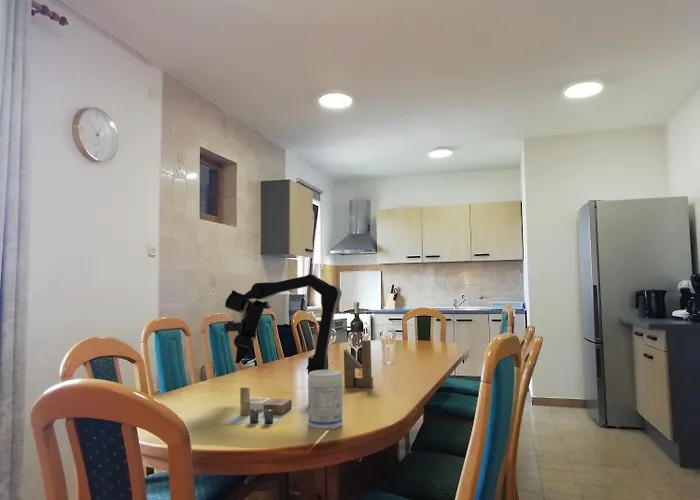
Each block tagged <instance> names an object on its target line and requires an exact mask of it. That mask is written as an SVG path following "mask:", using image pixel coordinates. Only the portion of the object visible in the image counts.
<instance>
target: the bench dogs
mask: <svg viewBox="0 0 700 500" xmlns="http://www.w3.org/2000/svg"><path fill="white" fill-rule="evenodd" d="M264 412H265V424H273V410H272V409H268V410H265V411H264ZM250 423H251V424H250V425H257V424H256V423H259V409H251V410H250Z"/></svg>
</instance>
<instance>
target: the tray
mask: <svg viewBox="0 0 700 500" xmlns="http://www.w3.org/2000/svg"><path fill="white" fill-rule="evenodd" d="M270 400H272V398H271V397H251V396H250V410H251V409H259V411H264V404H265V403H267V402H269V401H270Z"/></svg>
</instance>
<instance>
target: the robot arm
mask: <svg viewBox="0 0 700 500" xmlns="http://www.w3.org/2000/svg"><path fill="white" fill-rule="evenodd" d="M307 287H310V288H311V289H313V290H314V291H315V292H316V293H317V294H319V295H321V296H320V297H321V298H320V302H321V303H320V304H321V310H322V311H321V312H322V313H321V317H320V322H319V330H318V333H317V335H318V336H317V339H316V346H315V352H314V354H312V355H309V356H308V358H307V367H306V368H305V370H307V375H308V377H309V372H311V371H316V370H330V369H329V356H328V352H329V345H330V340H331V334H332V327H333V323H334V317H335V312H336V310H337V308H338V306H339V303H340V300H341V298H342V290H341V288H340V287H339V286H338V285H334V284H333V285H331V284H329V283H328V282H326V281H325V280H323V279H321V278H319V277H318V276H317V275H316V274H311V273H309V274H307V275H304V276H299V277H295V278H289V279H285V280H280V281H275V282H256V283H253V285H251V289H250V290H247V292H246V293H242V292H240V291H238V290H231V293H230V294H229V295H228V296H227V298H226V299H225V301H224V302H225V304H224V307H225V308H226V309H228V310H231V311H233V312H237V313H240V314H241V313H244V312H245V313H244V317H242V319H241V320H227V321H225V322H224V323H223V325H224V326H223V328H224V333H230V332H237V334H236V335H235V337H234V339H233V344H234V346H235V347H236V353H235V354H236V356H235V364H240V362H241V361H242V360H243V359H244V358H245V356H246V355H247V354H248V353H249V352H250V350H251V349H252V347H253V345H254V342H255V340H256V338H257V335H258V332H257V331H258V329H259V325H260V322H261V319H262V316H263V313H264V310H270V309H271V308H272V307H271V306H270V304H269V301H267V300H266V299H269V298H272V297H274V296H276V295H278V294H280V293H285V292H288V291H293V290H298V289H303V288H307ZM253 300H255V301H253ZM261 300H265V301H261Z"/></svg>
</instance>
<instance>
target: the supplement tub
mask: <svg viewBox="0 0 700 500" xmlns="http://www.w3.org/2000/svg"><path fill="white" fill-rule="evenodd" d="M342 375H343V374H342V371H340V370H337V369H329V370H316V371H311V372H309V376H308V378H307V380H308V381H307V391H308V392H307V393H308V395H307V396H308V397H307V398H308V400H307V401H308V403H307V404H308V426H310V427H313V428H319V429H324V428H325V429H326V428H327V429H326V431H330V430H336V429H339V428H340V427H342V425H343V424H344V422H343V419H344V418H343V416H344V414H343V376H342Z"/></svg>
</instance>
